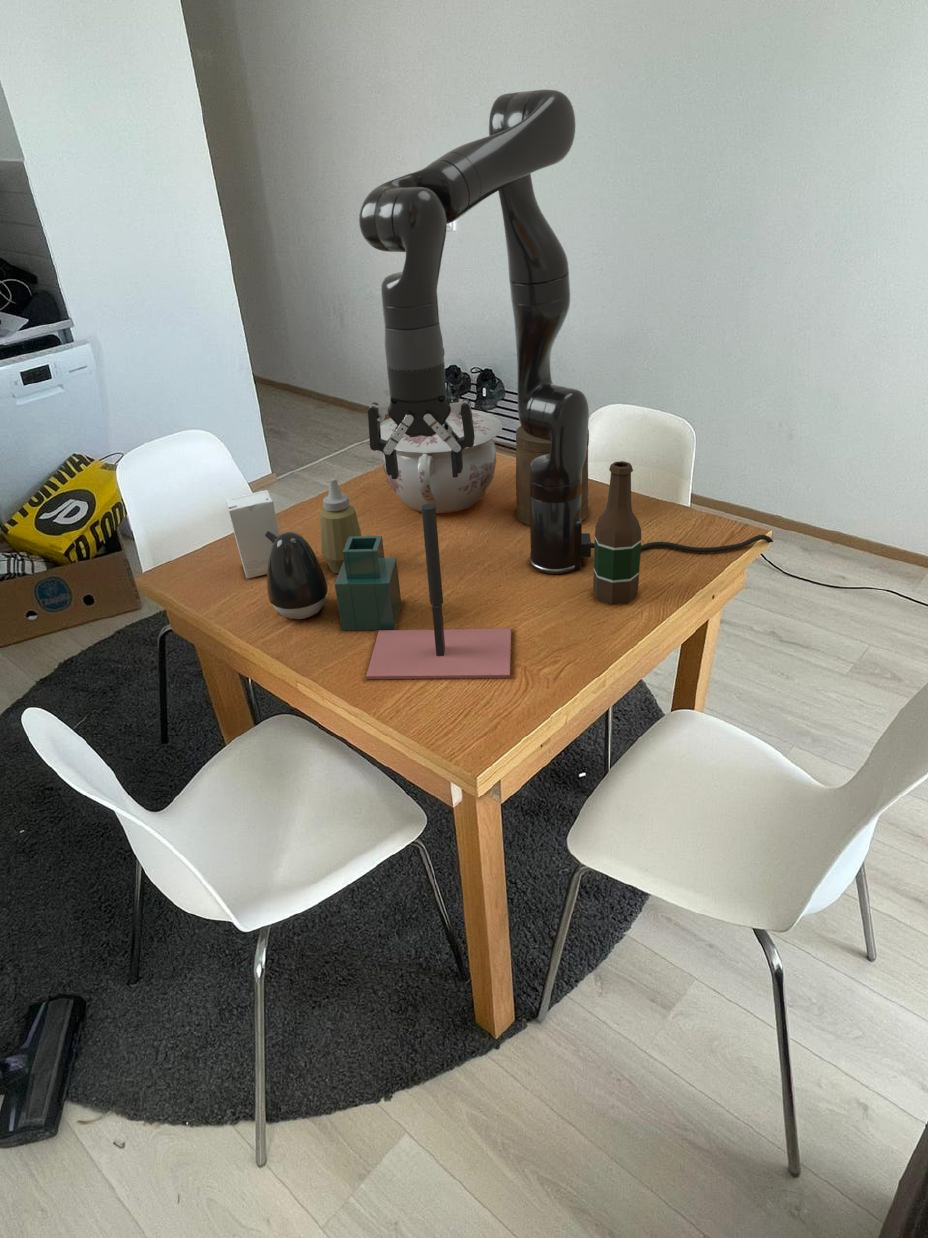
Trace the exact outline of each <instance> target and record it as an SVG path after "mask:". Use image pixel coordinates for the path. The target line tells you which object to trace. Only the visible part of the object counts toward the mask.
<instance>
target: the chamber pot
mask: <svg viewBox="0 0 928 1238" xmlns="http://www.w3.org/2000/svg"><path fill="white" fill-rule="evenodd" d="M471 410H472V418H473V427H474V435H475V439H474V445H473V446H472V447H467V448H465V449H463V450H462V460H463V468H462V472H461V473H458V477H453V476H452V462H451V450H452V449H451V448H450V447H449V445H448V444H447V443H446V442H444V441H443V440H442V439H441V438H440V437H439V436H438V435H437V434H434V435H433V436H432V437H426V436H417V437H410V436H408V435H406V434H404V435H403V437H402V438H401V440H400V441H399V443H398V444H397V445H396V447H395V448H394V449H396V453H397V462H398V472H399V475H398V478H397V479H392V476H391V475H388V474H387V471H386V463H385V455H384V453H383V452H382V455H381V460H382V468H383V472H384V475H385V477H386V481H387V483H388V485H389V487H390V488H391V490H392V492H394V493H395V495H396V496H397V497H398V498H399V499H400V501H401V502H402V503H403V504H404V505H405V506H406V507H408V508H410V509H412V510H414V511H417V512H421V513H422V509H421V507H422V506H423V505H425V504H434V505H435V508H436V514H447V513H453V512H458V511H462V510H466V509H468V508H471V507H472V506H474V505H475V504H477V503H478V502H479V501H480V500H481V499H482V498H483V496H484V494H485V493H486V491H487V490H488V488H489V486H490V485H491V483H492V482H493V479H494V478H495V477H494V476H495V472H496V465H497V447H496V443H495V441H494V440H493V439H495V438H496V437H497V436H499V434H500V433H501V431H502V430H503V425H502V421H500V419H499V418H497V417H496V416H495V415H493V414H491V413H488V412H486V411H482V410H477V409H472V408H471ZM446 421H447V422H448V424H449V425H450V426H451V427H452V429H453V431H454V432H455V433H456V434H457V435H458V436H459V438H461V437H463V436H464V431H463V423H462V419H458V418H457V417H456V414H455V413H454V412H450V414H449V416H448V418H447V419H446ZM396 426H397V424H396V423H395V422H394V421H393V420H392V419H391V417H390V418H387V419H384V420H383V421H382V422H380V427H381V439H383V440H388V439H389V437H390V436H391V434H392V433H393V431H394V429H395V428H396Z"/></svg>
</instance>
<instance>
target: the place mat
mask: <svg viewBox="0 0 928 1238" xmlns="http://www.w3.org/2000/svg"><path fill="white" fill-rule="evenodd" d="M444 639H445V651H444V656H436V646H435V635H434V629H395V630H378V632H377V635H376V639H375V642H374V647H373V650H372V654H371V658H370V662H369V665H368V668H367V672H366V676H365V677H366V680H415V679H416V680H422V679H423V680H424V679H425V680H427V679H430V680H434V679H511V654H512V653H511V651H512V649H511V648H512V628H467V629H466V628H463V629H462V628H458V629H457V628H454V629H444Z"/></svg>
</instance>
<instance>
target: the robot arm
mask: <svg viewBox="0 0 928 1238" xmlns="http://www.w3.org/2000/svg"><path fill="white" fill-rule="evenodd" d="M576 125H577V124H576V114H575V109H574V106H573V105H572V102H571V100H570V99H569V98H568V96H567V95H566V94H564V93H563V92H561V91H559V90H556V89H538V90H537V89H536V90H528V91H517V92H516V91H515V92H509V93H503V94H501V95H499V96H497V98H496V99H495V100H494V101H493V103H492V106H491V109H490V112H489V120H488V136H485V137H481V138H479V139H476V140H473V141H470V142H466V143H464V144H461V145H460V146H457V147H455V148H454V149H452V150H450V151H448V152H446V153H444V154H443V155H441V156H440V157H438V158H437V159H435V160H434V161H432V162H431V163H429V164H427V166H425V167H424V168H422V169H419V170H416V171H414V172H411V173H407V174H405V175H402V176H398V177H397V178H396V177H395V178H394V179H391V180H388V181H386V182H384V183H381V184H380V185H378V186H376V187H375V188H374V189H372V190H371V192H369V193H368V194H367V196H366V197H365V198H364V200H363V202H362V204H361V207H360V210H359V216H358V224H359V229H360V232H361V235H362V237H363V239H364V240H365V242H367V244H369V246H370V247H372V248H374V249H376V250H379V251H381V252H390V253H405V257H404V259H405V260H404V264H403V268H402V270H401V271H399V272H395V273H392V274H389V275H387V276H386V277H384V279H383V280H382V282H381V285H380V291H381V303H382V305H381V306H382V315H383V324H384V351H385V361H386V371H387V380H388V388H389V399H390V401H389V402H390V403H389V405H382V404H380V405H379V403H378V402H371V404H370V406H369V408H368V410H367V421H368V422H367V423H368V437H369V439H368V440H369V448H370V449H371V451H375V452H376V451H378V452H381V453H382V454H383V453H384V455H385V463H386V471H387V474H388V475H391V476H392V479H397V478H398V475H399V472H398V462H397V453H396V449H394V448H395V447H396V445H397V444H398V443H399V441H400V440H401V438H402V437H403V435H404V434H406V435H408V436H410V437H417V436H426V437H432V436H433V435H434V434H437V435H438V436H439V437H440V438H441V439H442V440H443V441H444V442H446V443H447V444H448V445H449V447H450V448H451V449H452V450H451V462H452V476H453V477H458V473H461V472H462V468H463V460H462V450H463V449H465V448H467V447H472V446H473V445H474V439H475V435H474V427H473V418H472V410H473V409H472V403H471V400H470V399H469V398H464V399H463V400H462V401H456V402H450V401H449V398H448V395H447V382H446V368H445V367H446V366H445V365H446V364H445V347H444V341H443V340H444V339H443V335H442V334H443V333H442V330H441V324H440V323H441V322H440V310H439V309H440V308H439V299H438V298H439V296H438V285H439V278H440V272H441V266H442V259H443V254H444V249H445V243H446V238H447V230H448V227H447V226H448V224H452V223H453V222H455V221H457V220H458V219H460V218H461V217H463V216H464V215H466V213H468V212H469V211H471V210H473V208H475V207H477V206H478V205H479V204H480V203H481V202H483V201H485V200H486V199H488V198H489V197H490V196H492V195H494V194H495V193H497V192H498V196H499V197H498V198H499V201H500V203H499V204H500V207H501V208H500V209H501V215H502V221H503V228H504V235H505V236H504V237H505V244H506V253H507V267H508V268H507V269H508V278H509V290H510V300H511V307H512V314H513V320H514V322H513V323H514V333H515V347H516V363H517V365H516V366H517V367H516V369H517V370H516V371H517V372H516V373H517V374H516V375H517V377H516V378H517V414H518V421H519V423H520V426H521V427H522V428H523V430H524V431H525V432H526V433H527V434H529V435H531V436H533V437H537V438H540V439H544V440H548V441H551V449H550V453H548V454H544V455H541V456H539V457H537V458H535V459H533V460H532V462H531V463H530V467H529V476H530V525H529V533H530V534H529V535H530V536H529V537H530V539H529V540H530V541H529V542H530V543H529V544H530V554H529V555H530V557H529V563H530V566H531V568H533V569H534V570H535V571H537V572H540V573H543V574H549V575H563V574H568V573H571V572H573V571H577V570H578V571H580V570H581V569H582V558H591V557H592V549H594V542H592V538H591V533H590V532H584V533H582V531H583V521H581V489H582V468H583V465H584V462H585V458H586V448H587V434H588V429H589V422H590V408H589V403H588V399H587V397H586V395H585V393H584V392H583V391H582V390H580V389H576V388H573V387H567V386H564V385H558V384H555V383H553V380H552V371H551V356H552V355H551V354H552V350H553V346H554V343H555V341H556V339H557V337H558V335H559V334H560V331H561V329H562V327H563V325H564V323H565V321H566V319H567V316H568V314H569V311H570V307H571V285H570V284H571V283H570V268H569V261H568V257H567V254H566V251H565V249H564V246H563V245H562V243H561V241H560V240H559V238H558V236H557V235H556V233H555V231H554V230H553V228H552V227H551V225H550V223H549V222H548V220H547V218H546V216H545V215H544V213H543V212H542V210H541V208H540V205H539V204H538V200H537V197H536V194H535V190H534V184H533V179H532V174H533V173H535V172H537V171H539V170H542V169H546V168H548V167H551V166H554V165H556V164H558V163H560V162H561V161H563V160H564V159H565V158H566V157H567V156H568V154H569V152H571V149H572V147H573V145H574V141H575V138H576V127H577V126H576ZM471 409H472V410H471ZM450 412H454V413H455V414H456V417H457V418H458V419H462V423H463V431H464V436H463V437H461V438H459V436H458V435H457V434H456V433H455V432H454V431H453V429H452V427H451V426H450V425H449V424H448V422H447V421H446V419H447V418H448V416H449V414H450ZM386 415H388V416H389V417H390V418H391V419H392V420H393V421H394V422H395V423H396V424H397V426H396V428H395V429H394V431H393V433H392V434H391V436H390V437H389V439H388V440H383V439H381V427H380V424H381V423H382V422H383V421H385V417H386ZM758 541H766V542H767V543H774V540H773V538H771V537H770V536H769V535H766V534H757V535H755V536H753V537H751V538H748V539H746V540H745V541H742V542H739V543H734V544H728V545H720V546H709V547H705V546H703V547H700V546H699V547H698V546H689V545H684V544H680V543H675V542H669V541H651V542H648V543H647V542H646V543H644V544H641V552H642V551H644V550H647V549H650V548H658V547H659V548H671V549H675V550H680V551H684V552H691V553H719V552H725V551H733V550H739V549H741V548H742V549H743V548H745V547H747V546H749V545H751V544H753V543H756V542H758Z"/></svg>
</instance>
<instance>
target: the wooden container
mask: <svg viewBox="0 0 928 1238" xmlns="http://www.w3.org/2000/svg"><path fill="white" fill-rule="evenodd" d="M589 444H590V429H589V428H588V434H587V448H586V458H585V462H584V465H583V468H582V489H581V521H582V522H583V521H584V520H585V519H586V518H587V517H588V511H589V510H588V507H589V446H590V445H589ZM550 449H551V441H548V440H544V439H540V438H537V437H533V436H531V435H529V434H527V433H526V432H525V431H524V430H523V428H522V427H521V425H519V427H517V428H516V430H515V493H516V495H515V496H516V497H515V499H516V516H517V518H518V520H519V521H521V522H522V523H524V524H526V525H529V526H530V476H529V467H530V463H531V462H532V460H533V459H535V458H537V457H539V456H541V455H544V454H548V453H550Z"/></svg>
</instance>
